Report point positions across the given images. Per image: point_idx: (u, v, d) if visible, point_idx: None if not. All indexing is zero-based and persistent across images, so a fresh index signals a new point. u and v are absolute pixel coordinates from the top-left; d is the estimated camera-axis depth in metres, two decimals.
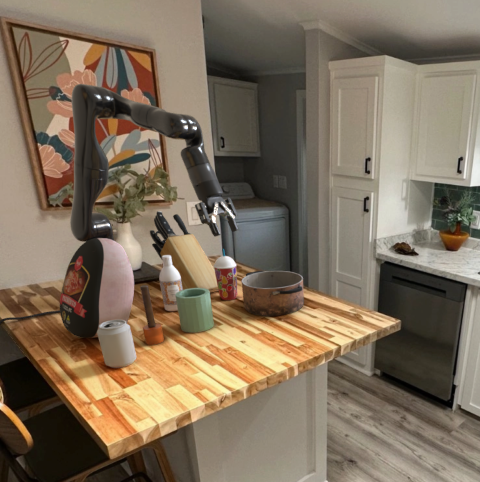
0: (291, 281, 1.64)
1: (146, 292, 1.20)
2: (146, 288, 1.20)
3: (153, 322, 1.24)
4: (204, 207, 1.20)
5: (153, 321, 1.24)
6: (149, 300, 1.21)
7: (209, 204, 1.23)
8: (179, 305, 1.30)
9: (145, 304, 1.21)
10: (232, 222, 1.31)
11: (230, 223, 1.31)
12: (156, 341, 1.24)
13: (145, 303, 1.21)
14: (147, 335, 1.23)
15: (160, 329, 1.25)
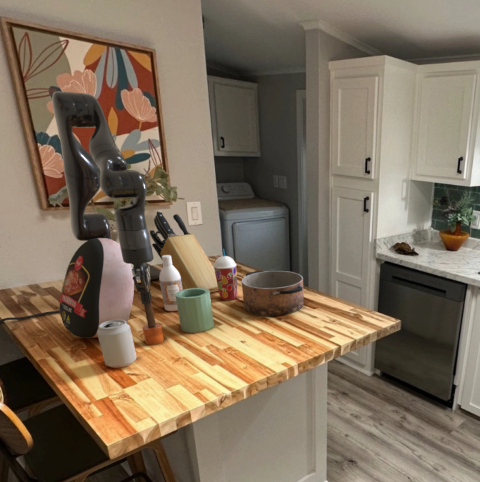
0: (291, 281, 1.64)
1: None
2: None
3: (153, 322, 1.24)
4: (144, 279, 1.15)
5: (153, 321, 1.24)
6: None
7: (143, 271, 1.15)
8: (179, 305, 1.30)
9: (145, 304, 1.21)
10: (148, 292, 1.22)
11: None
12: (156, 341, 1.24)
13: None
14: (147, 335, 1.23)
15: (160, 329, 1.25)
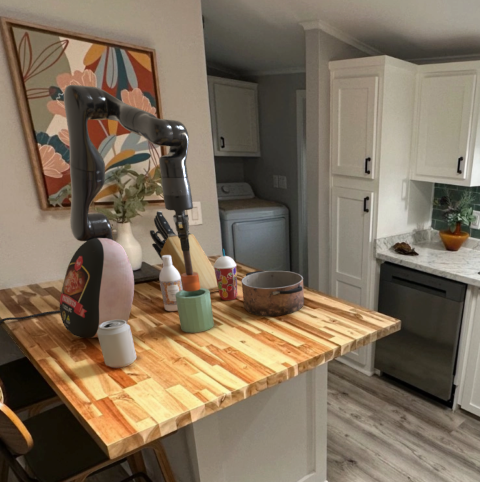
0: (291, 281, 1.64)
1: None
2: None
3: (191, 270, 1.30)
4: (185, 225, 1.21)
5: (191, 269, 1.30)
6: None
7: (184, 218, 1.22)
8: (179, 305, 1.30)
9: (184, 251, 1.27)
10: None
11: None
12: (194, 288, 1.31)
13: None
14: (185, 282, 1.29)
15: (197, 277, 1.31)
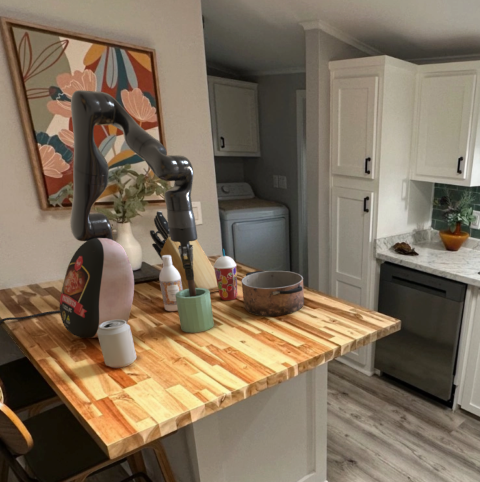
0: (291, 281, 1.64)
1: None
2: None
3: None
4: (190, 256, 1.24)
5: None
6: None
7: (189, 249, 1.25)
8: (179, 305, 1.30)
9: (189, 280, 1.31)
10: None
11: None
12: None
13: None
14: None
15: None
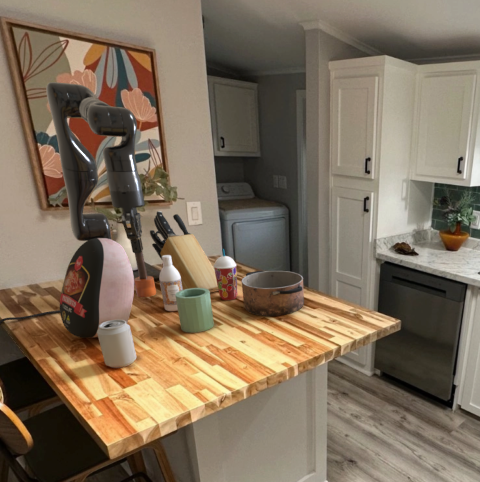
0: (291, 281, 1.64)
1: None
2: None
3: (145, 273, 1.18)
4: (134, 225, 1.09)
5: (145, 272, 1.18)
6: None
7: (133, 216, 1.10)
8: (179, 305, 1.30)
9: (136, 253, 1.15)
10: None
11: None
12: (148, 293, 1.19)
13: None
14: (138, 287, 1.18)
15: (152, 281, 1.19)
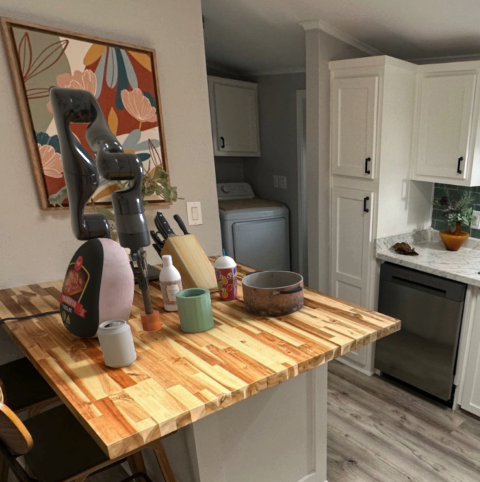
0: (291, 281, 1.64)
1: None
2: None
3: (150, 308, 1.22)
4: (141, 264, 1.13)
5: (150, 307, 1.22)
6: None
7: (140, 256, 1.14)
8: (179, 305, 1.30)
9: (142, 290, 1.19)
10: None
11: None
12: (154, 328, 1.23)
13: None
14: (144, 322, 1.21)
15: (158, 316, 1.23)
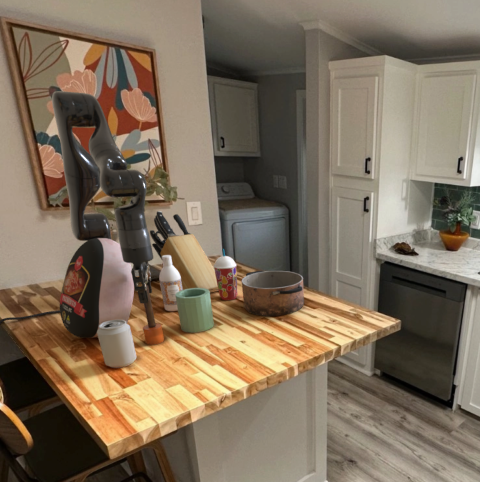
0: (291, 281, 1.64)
1: None
2: None
3: (153, 322, 1.24)
4: (142, 275, 1.13)
5: (153, 321, 1.24)
6: (149, 300, 1.21)
7: (143, 270, 1.15)
8: (179, 305, 1.30)
9: (145, 304, 1.21)
10: (148, 284, 1.24)
11: (145, 285, 1.23)
12: (156, 341, 1.24)
13: (145, 303, 1.21)
14: (147, 335, 1.23)
15: (160, 329, 1.25)
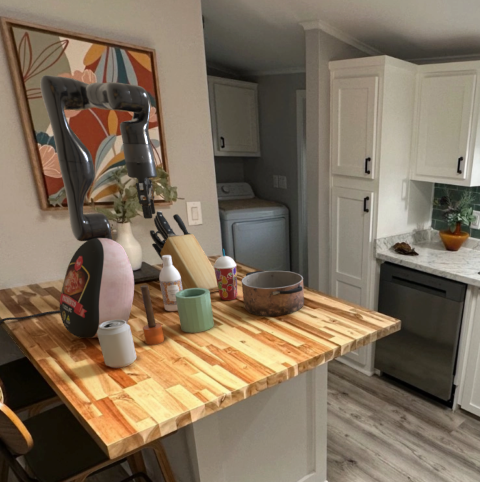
0: (291, 281, 1.64)
1: (146, 292, 1.20)
2: (146, 288, 1.20)
3: (153, 322, 1.24)
4: (146, 188, 1.18)
5: (153, 321, 1.24)
6: (149, 300, 1.21)
7: (147, 185, 1.20)
8: (179, 305, 1.30)
9: (145, 304, 1.21)
10: (152, 205, 1.29)
11: None
12: (156, 341, 1.24)
13: (145, 303, 1.21)
14: (147, 335, 1.23)
15: (160, 329, 1.25)
